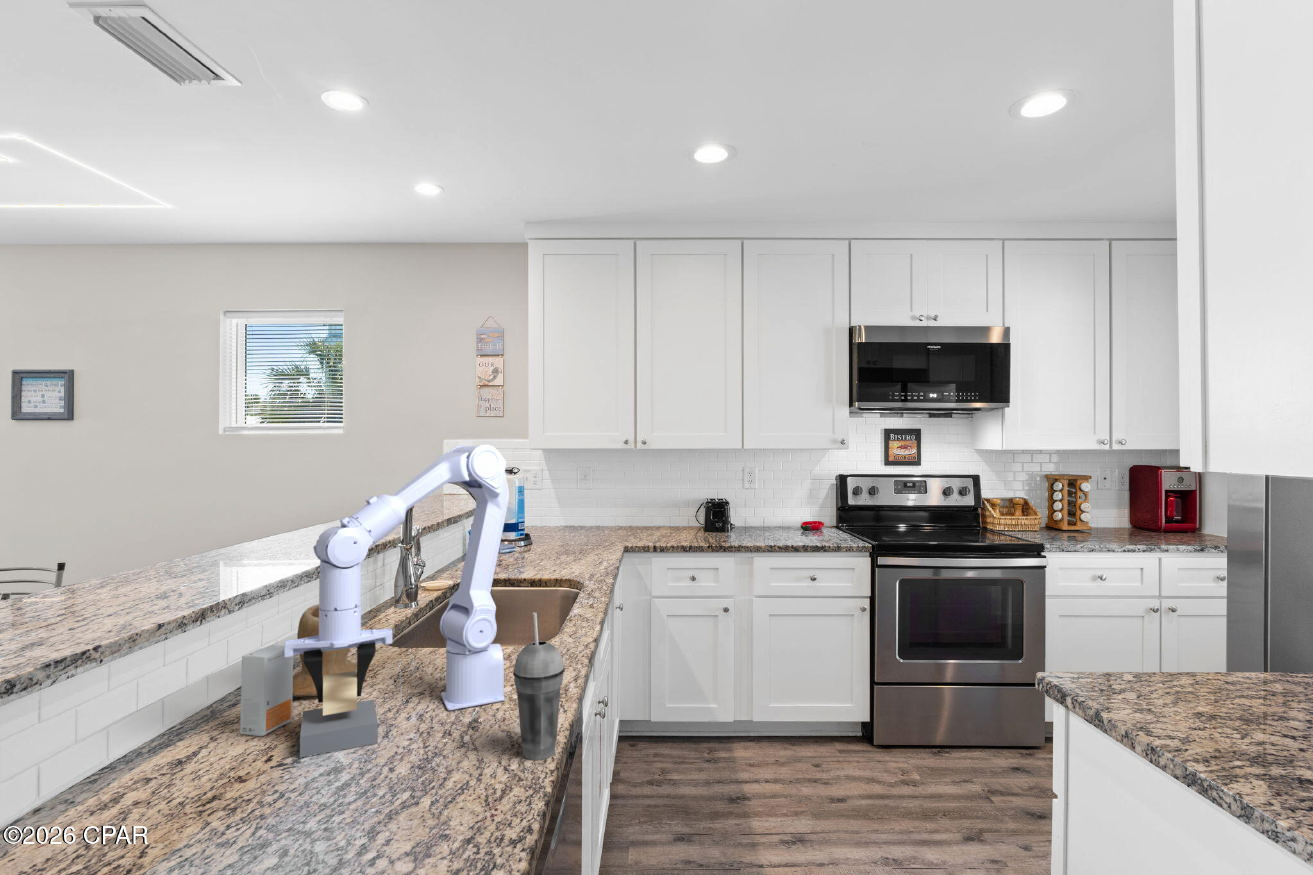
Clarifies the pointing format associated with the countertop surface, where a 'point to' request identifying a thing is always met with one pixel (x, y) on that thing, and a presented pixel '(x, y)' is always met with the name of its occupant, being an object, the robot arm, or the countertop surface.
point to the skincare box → (266, 690)
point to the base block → (338, 729)
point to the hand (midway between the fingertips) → (339, 697)
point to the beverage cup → (538, 696)
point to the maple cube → (339, 692)
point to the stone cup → (331, 659)
